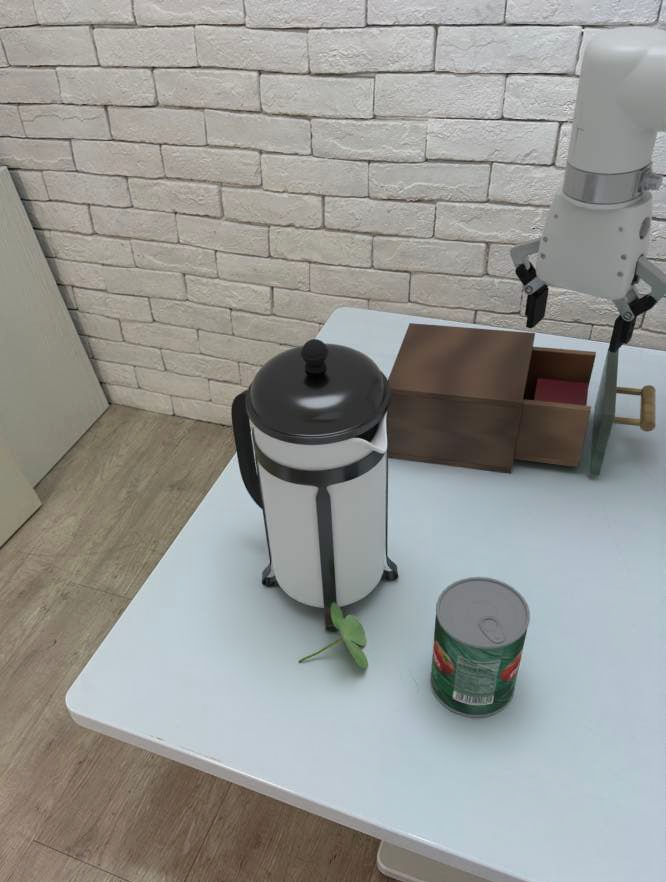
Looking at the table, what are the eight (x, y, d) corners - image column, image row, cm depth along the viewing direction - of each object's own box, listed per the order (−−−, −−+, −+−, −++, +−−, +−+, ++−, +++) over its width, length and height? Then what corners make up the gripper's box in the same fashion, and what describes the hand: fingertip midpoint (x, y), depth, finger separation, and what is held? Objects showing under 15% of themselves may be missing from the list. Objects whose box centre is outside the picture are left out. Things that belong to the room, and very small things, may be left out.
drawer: (644, 412, 101) (662, 352, 95) (643, 481, 92) (662, 420, 86) (488, 396, 107) (495, 338, 101) (473, 459, 98) (479, 400, 92)
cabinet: (524, 403, 106) (535, 332, 99) (511, 473, 97) (522, 401, 90) (407, 390, 111) (409, 322, 103) (384, 457, 102) (384, 387, 94)
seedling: (329, 680, 85) (381, 652, 82) (308, 705, 77) (365, 675, 75) (293, 622, 85) (344, 592, 83) (269, 641, 78) (324, 609, 75)
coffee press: (397, 525, 93) (402, 286, 72) (399, 634, 82) (406, 390, 61) (250, 525, 95) (213, 295, 74) (232, 631, 84) (183, 396, 63)
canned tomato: (417, 660, 79) (422, 588, 72) (492, 641, 80) (504, 567, 72) (449, 727, 74) (457, 657, 66) (529, 706, 75) (547, 633, 67)
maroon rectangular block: (533, 404, 103) (537, 377, 100) (583, 409, 101) (589, 382, 98) (525, 447, 97) (530, 421, 94) (578, 454, 95) (584, 427, 92)
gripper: (712, 180, 75) (666, 340, 87) (540, 151, 84) (520, 300, 96) (680, 211, 71) (637, 373, 83) (504, 177, 80) (488, 329, 92)
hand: (575, 334), depth 90 cm, fingers open, 9 cm apart
